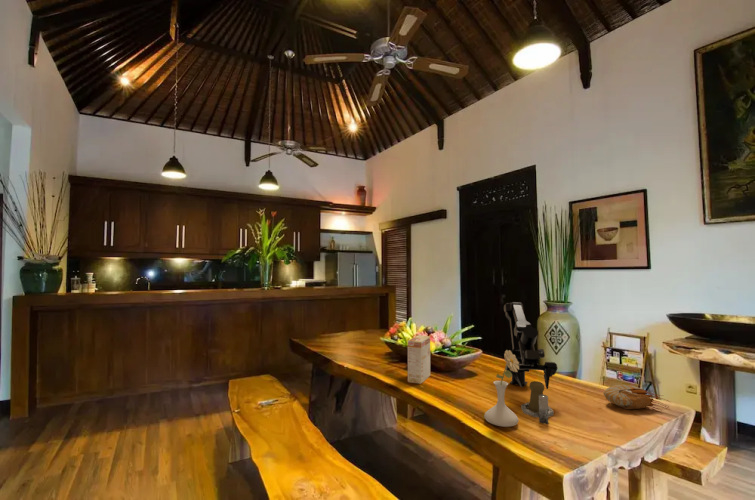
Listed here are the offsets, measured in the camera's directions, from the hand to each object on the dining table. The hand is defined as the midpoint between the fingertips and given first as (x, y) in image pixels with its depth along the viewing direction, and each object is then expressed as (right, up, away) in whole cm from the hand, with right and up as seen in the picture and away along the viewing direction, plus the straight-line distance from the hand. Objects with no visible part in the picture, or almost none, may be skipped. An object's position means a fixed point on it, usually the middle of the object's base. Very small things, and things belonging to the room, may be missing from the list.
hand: (534, 387), depth 139 cm
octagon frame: (-1, -8, -6) cm, 10 cm away
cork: (0, -8, -3) cm, 9 cm away
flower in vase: (-17, -8, -13) cm, 22 cm away
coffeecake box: (-40, -10, +37) cm, 55 cm away
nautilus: (+40, -9, +1) cm, 41 cm away
